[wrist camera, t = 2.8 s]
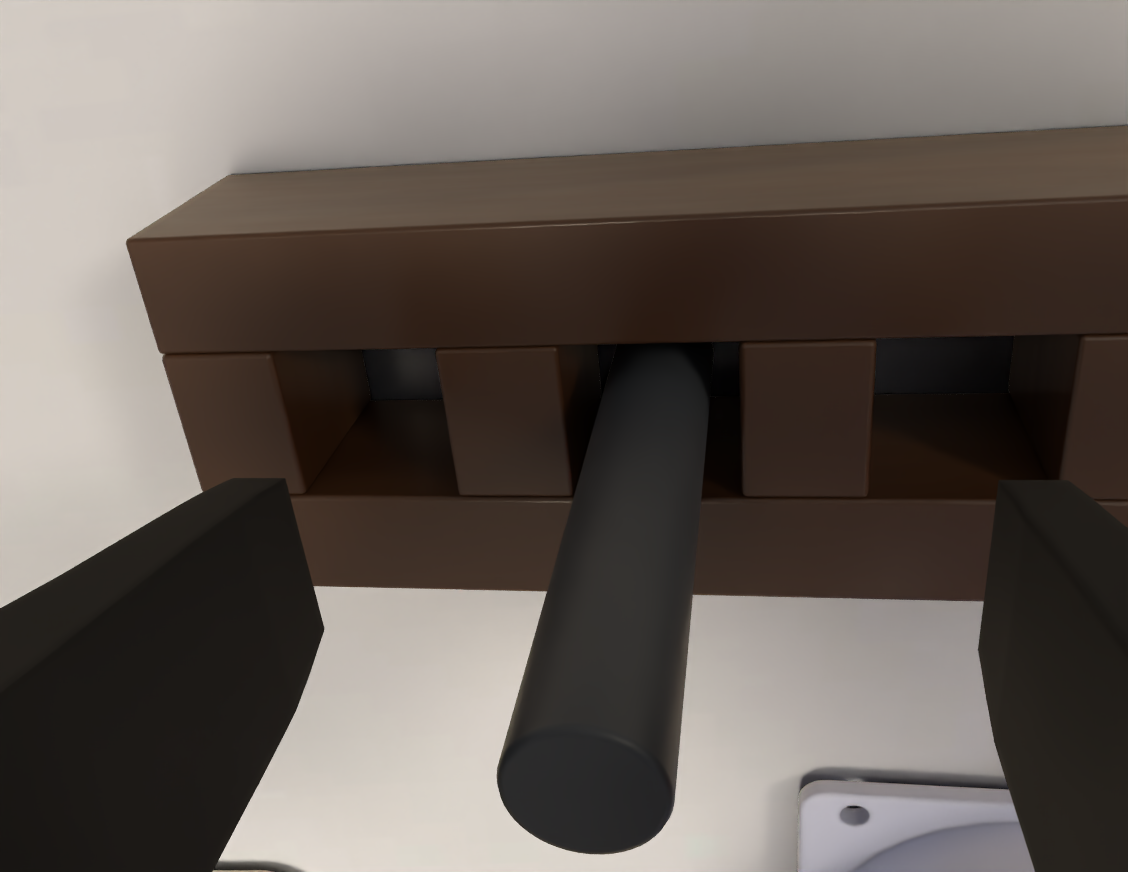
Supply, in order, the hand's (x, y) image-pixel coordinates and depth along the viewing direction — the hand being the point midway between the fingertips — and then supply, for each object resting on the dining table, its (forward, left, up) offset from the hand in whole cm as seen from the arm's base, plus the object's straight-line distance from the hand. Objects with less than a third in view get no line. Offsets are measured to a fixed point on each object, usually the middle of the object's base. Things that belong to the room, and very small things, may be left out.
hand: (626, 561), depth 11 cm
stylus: (0, 0, -6) cm, 6 cm away
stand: (0, 0, -6) cm, 6 cm away
